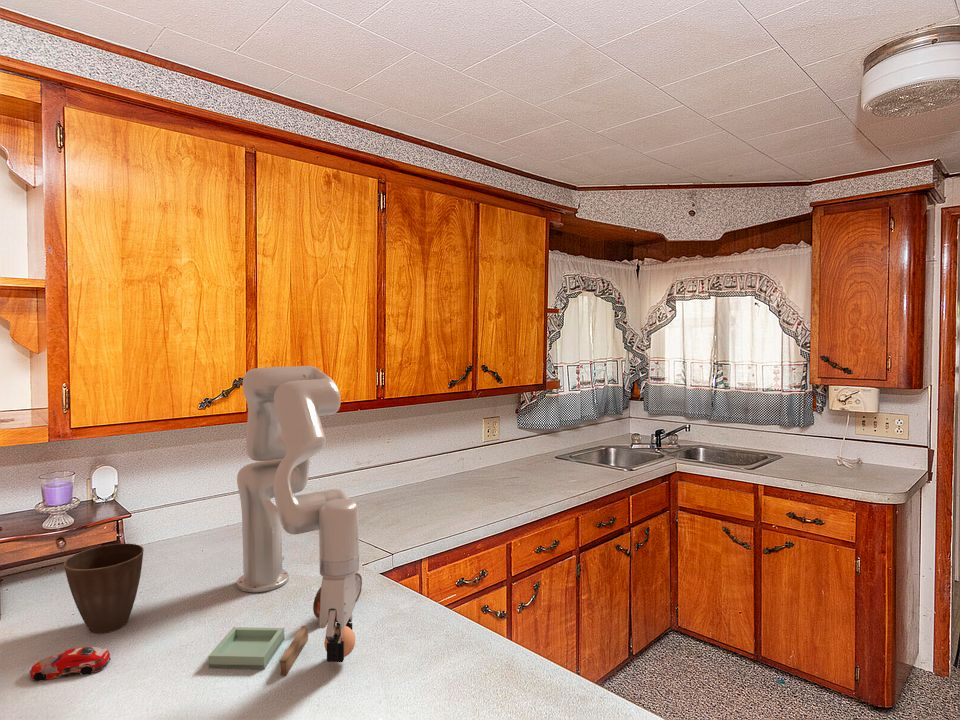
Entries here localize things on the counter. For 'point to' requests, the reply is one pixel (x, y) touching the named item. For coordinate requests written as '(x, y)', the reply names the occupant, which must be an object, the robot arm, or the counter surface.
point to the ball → (345, 640)
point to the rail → (293, 651)
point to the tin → (317, 598)
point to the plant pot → (105, 584)
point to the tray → (246, 648)
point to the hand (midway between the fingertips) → (340, 650)
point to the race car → (71, 663)
